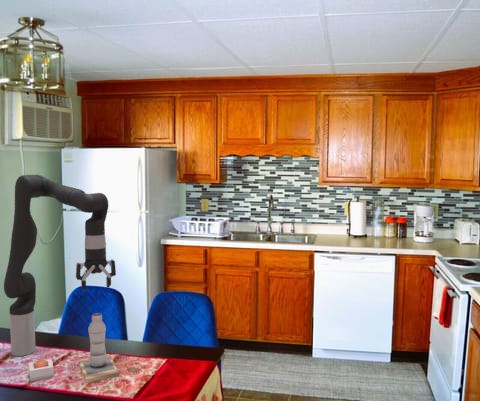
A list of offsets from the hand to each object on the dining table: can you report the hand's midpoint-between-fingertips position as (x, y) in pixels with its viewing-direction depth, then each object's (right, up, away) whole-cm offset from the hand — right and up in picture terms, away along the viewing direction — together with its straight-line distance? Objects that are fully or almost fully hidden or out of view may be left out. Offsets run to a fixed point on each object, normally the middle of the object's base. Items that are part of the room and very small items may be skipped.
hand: (96, 288), depth 179 cm
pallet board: (0, -32, +3) cm, 32 cm away
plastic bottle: (0, -30, +3) cm, 30 cm away
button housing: (-20, -32, -2) cm, 38 cm away
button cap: (-20, -31, -2) cm, 37 cm away
